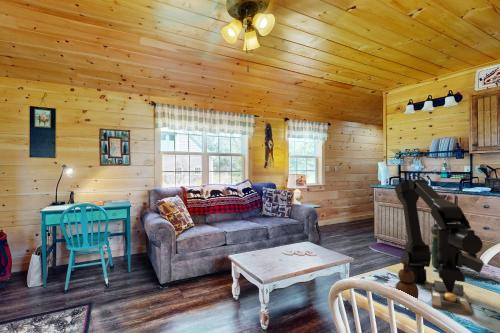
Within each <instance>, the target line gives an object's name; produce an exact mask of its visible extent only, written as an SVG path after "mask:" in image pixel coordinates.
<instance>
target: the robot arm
mask: <svg viewBox="0 0 500 333" xmlns="http://www.w3.org/2000/svg"><path fill="white" fill-rule="evenodd" d="M394 191H395V194H396V198H397V200H398V201H399V202H400V203H401V204H402V208H403V215H404V222H405V229H406V236H407V241H406V243H405V245H404V252H403V253H402V255H401V256H400V262H401V264H402V265H403V264H404V261H406V263H407V265H408V269H409V270H410V271H412V272H413V273H414V277H415V279H414V281H413V282H415V284H416V285H417V284H418V285H422V286H424V285H426V282H427V281H428V280H427V269H426V268H429V267H430V265H431V262H432V253H431V250H430V248H431V247H430V246H429V245H428V244H426V243H425V242H424V240H423V237H422V230H421V223H420V219H419V218H420V217H419V211H418V204H417V202H418V201H419V199H421V200H422V201H423V202H424V203H425V204H426V205H427V206H428V207H429V209H430V215H431V217H432V218H433V220H434V221H435V222H436V223H434V224H433V226H434V227H436V228H437V234H438V254H437V255H436V258H437V262H439V264H441V266H438V268H437V272H438V278H440V279H441V280H442V281H441V282H443V283H444V285H445V287H446V289H447V291H448V292H449V293H452V292H453V288H454V284H456V282H460V283H461V282H462V283H465V282H466V274H465V273H464V271H463V270H462V269H461V268H463V267H465V268H467V269H471V270H473V271H474V272H475V273H479V274H480V273H481V271H482V269H483V267H484V265H485V263H484V260H482V259H481V258H480V257H478V256H477V254H478V253H479V252H481V250H482V249H483V241H482V239H481V238H480V237H479V235H477V234H476V233H475V232H476V231H475V230H474V229H472V226H471V225H470V221H469V220H468V218H467V216H466V215H465V213H464V212H463V210H462V208H461V207H460V206H459V205H457V204H456V203H454V202H453V201H449V200H446V199H444V198H443V197H442V196H441V195H440V194H439V193H438V192H437V191H435V189H434V188H432V187H431V185H429V184H428V181H427V180H426V179H421V178H419V179H417V178H415V179H410V180H409V181H405V182H398V183H397V184H396V185H395V186H394Z"/></svg>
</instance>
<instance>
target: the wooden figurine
mask: <svg viewBox="0 0 500 333" xmlns="http://www.w3.org/2000/svg"><path fill="white" fill-rule="evenodd" d="M402 265H403V268H402V269H400V270H399V271H398V273H397V275H398V279H399V280H398V281H397V282H396V284H395V286H394V287H395V288H396V289H398V290H401V291H403V292H405V293H407V294H409V295H411V296H413V297H415V298H417V300H418V299H419V288H418V286H417V283H415V282H413V281H414V279H415V277H414V273H413V272H412V271H410V270H409V269H408V265H407V263H406V261H404V264H402ZM395 288H394V289H395Z"/></svg>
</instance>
